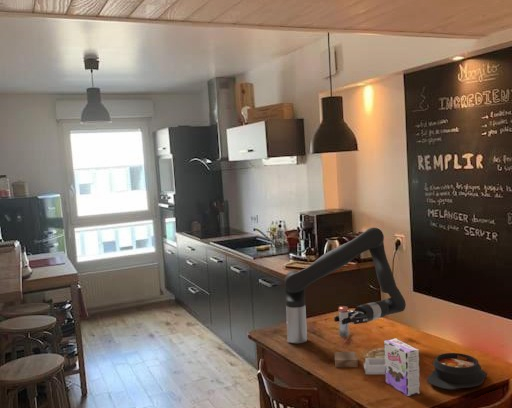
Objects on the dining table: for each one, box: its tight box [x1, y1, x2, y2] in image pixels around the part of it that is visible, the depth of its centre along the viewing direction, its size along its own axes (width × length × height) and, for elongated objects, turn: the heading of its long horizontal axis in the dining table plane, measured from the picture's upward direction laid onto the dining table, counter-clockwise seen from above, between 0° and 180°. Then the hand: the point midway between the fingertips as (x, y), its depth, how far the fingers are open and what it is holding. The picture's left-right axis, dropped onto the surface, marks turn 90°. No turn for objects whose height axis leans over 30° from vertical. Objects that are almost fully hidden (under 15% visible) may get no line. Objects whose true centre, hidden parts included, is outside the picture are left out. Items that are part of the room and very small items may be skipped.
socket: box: [362, 357, 385, 375], centre depth 210 cm, size 10×10×3 cm
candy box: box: [383, 338, 421, 397], centre depth 192 cm, size 14×6×16 cm, turn 21°
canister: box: [338, 305, 350, 338], centre depth 217 cm, size 4×4×12 cm
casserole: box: [426, 352, 488, 391], centre depth 195 cm, size 25×19×8 cm
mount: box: [333, 351, 359, 368], centre depth 218 cm, size 9×9×3 cm
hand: (338, 320), depth 215 cm, fingers closed on canister, 4 cm apart
